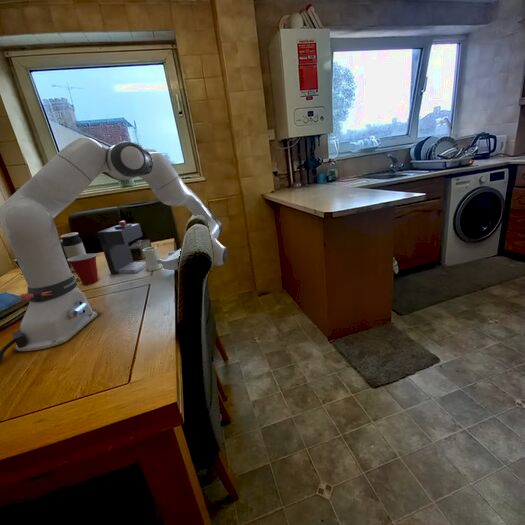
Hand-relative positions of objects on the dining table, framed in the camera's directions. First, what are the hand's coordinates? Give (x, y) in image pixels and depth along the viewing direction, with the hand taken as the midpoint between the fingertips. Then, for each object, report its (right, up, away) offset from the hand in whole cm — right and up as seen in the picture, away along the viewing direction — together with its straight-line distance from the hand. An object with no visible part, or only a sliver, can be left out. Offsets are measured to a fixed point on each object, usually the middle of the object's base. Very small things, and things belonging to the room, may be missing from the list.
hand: (163, 257), depth 125 cm
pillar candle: (-56, -3, +23) cm, 60 cm away
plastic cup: (-30, -11, -4) cm, 32 cm away
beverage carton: (-22, +2, +27) cm, 35 cm away
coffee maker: (-18, -5, +6) cm, 19 cm away
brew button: (-18, +15, -2) cm, 23 cm away
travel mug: (-47, -6, +15) cm, 49 cm away
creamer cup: (-6, -5, +3) cm, 8 cm away
